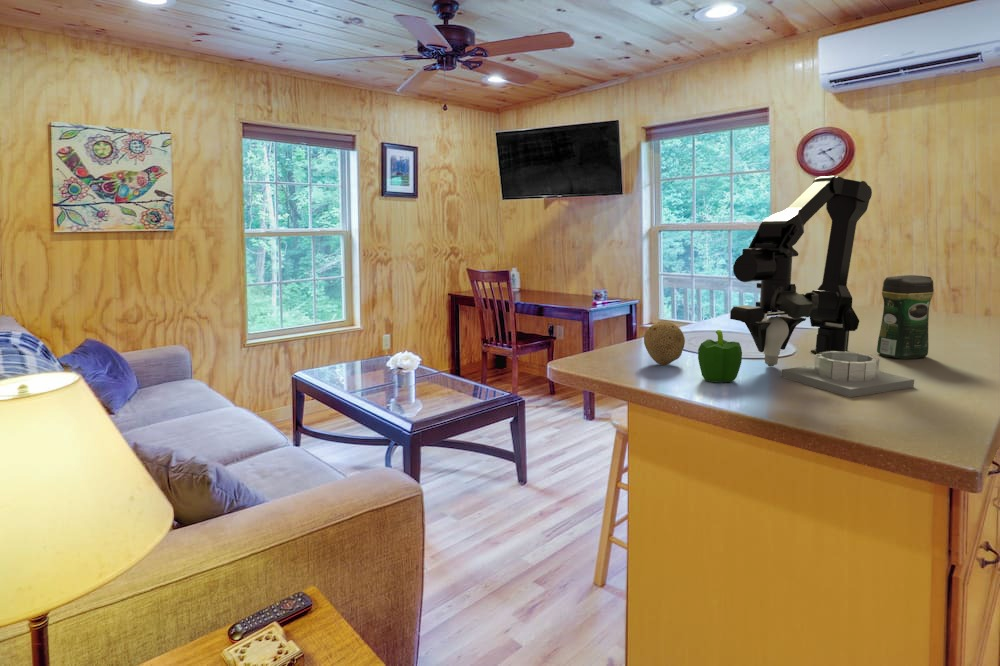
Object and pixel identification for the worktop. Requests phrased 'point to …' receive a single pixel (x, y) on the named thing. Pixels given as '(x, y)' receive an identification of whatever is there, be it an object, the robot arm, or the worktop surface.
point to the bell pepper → (719, 359)
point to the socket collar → (846, 366)
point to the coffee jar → (905, 316)
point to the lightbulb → (774, 339)
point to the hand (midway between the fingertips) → (771, 350)
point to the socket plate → (848, 382)
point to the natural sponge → (664, 342)
